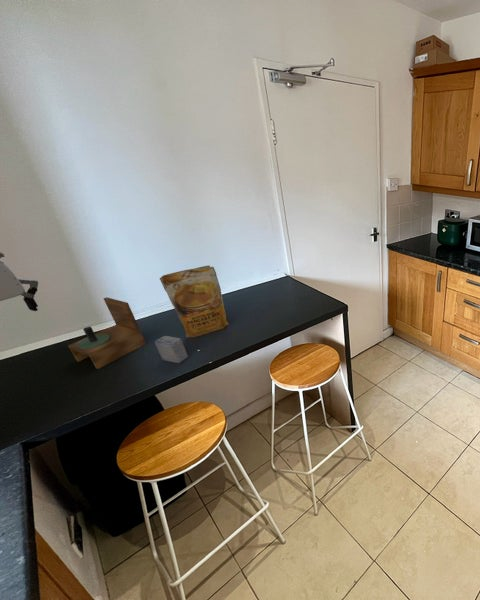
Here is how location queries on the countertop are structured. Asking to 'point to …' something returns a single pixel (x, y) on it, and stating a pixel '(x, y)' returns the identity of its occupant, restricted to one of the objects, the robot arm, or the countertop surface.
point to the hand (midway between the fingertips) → (11, 317)
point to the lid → (92, 339)
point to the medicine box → (171, 349)
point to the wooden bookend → (113, 337)
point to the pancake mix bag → (196, 300)
